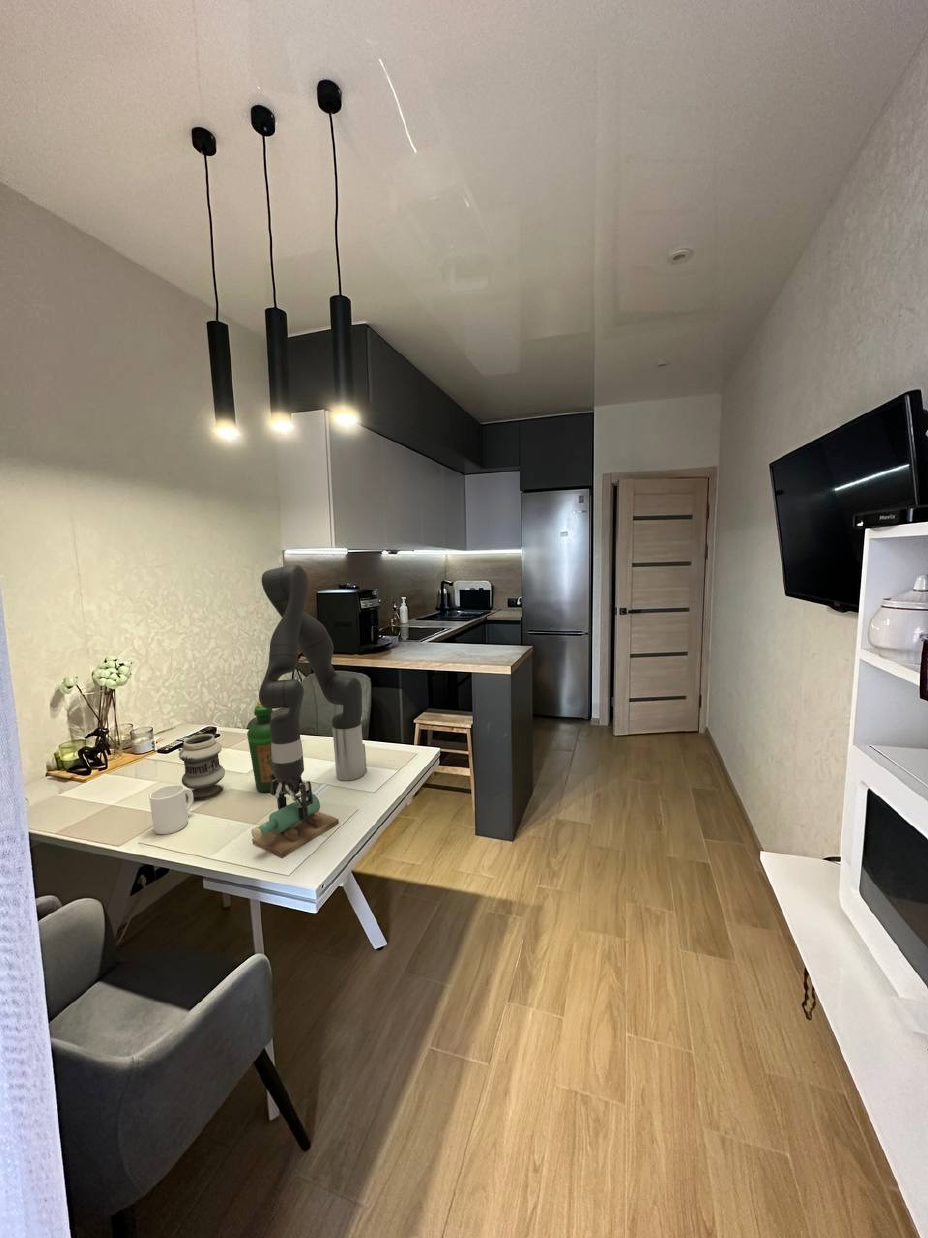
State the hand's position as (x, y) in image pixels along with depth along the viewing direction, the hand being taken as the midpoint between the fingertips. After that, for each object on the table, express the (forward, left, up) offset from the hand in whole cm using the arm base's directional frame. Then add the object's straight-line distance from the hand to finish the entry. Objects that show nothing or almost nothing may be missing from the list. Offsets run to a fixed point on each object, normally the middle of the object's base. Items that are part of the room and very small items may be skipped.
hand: (293, 815), depth 130 cm
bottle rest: (-1, 0, -5) cm, 5 cm away
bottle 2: (+2, 0, -2) cm, 3 cm away
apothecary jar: (-1, -45, -6) cm, 45 cm away
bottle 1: (-14, -30, -6) cm, 33 cm away
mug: (+13, -34, -6) cm, 37 cm away
